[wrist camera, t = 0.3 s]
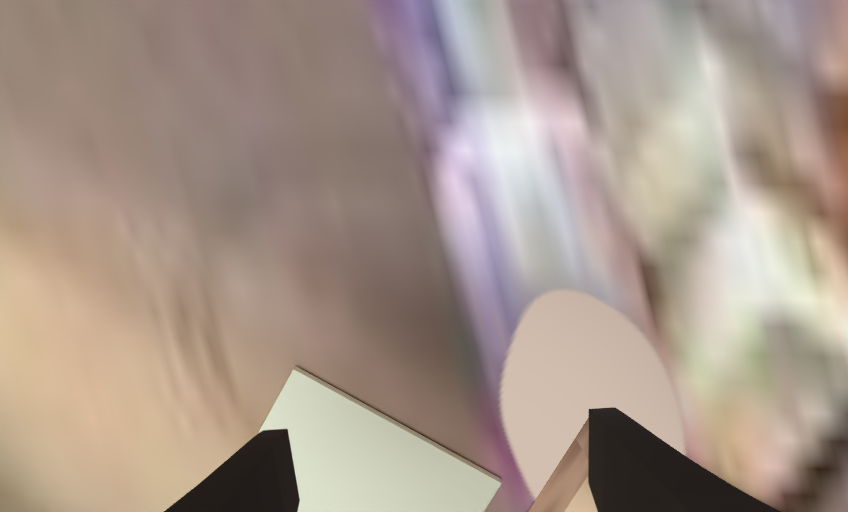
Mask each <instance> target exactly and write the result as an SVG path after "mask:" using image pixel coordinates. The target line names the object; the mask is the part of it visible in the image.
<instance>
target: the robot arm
mask: <svg viewBox="0 0 848 512" xmlns="http://www.w3.org/2000/svg"><path fill="white" fill-rule="evenodd" d="M588 484H589V487H590V490H591V493H592V496H593V499H594V502H595V505H596V508H597V511H598V512H780V511H778V510H776V509H774V508H772V507H771V506H769V505H767V504H765V503H763V502H761V501H759V500H757V499H755V498H753V497H752V496H750V495H748V494H746V493H744V492H743V491H741V490H739V489H737V488H736V487H734V486H732V485H731V484H729V483H727V482H726V481H724V480H722V479H721V478H719V477H717V476H716V475H714V474H712V473H711V472H709V471H708V470H706V469H704V468H703V467H701V466H700V465H698V464H697V463H695V462H693V461H692V460H690V459H689V458H687V457H686V456H684V455H683V454H681V453H680V452H678V451H677V450H675V449H674V448H673V447H671V446H670V445H668V444H667V443H665V442H664V441H662V440H661V439H659V438H658V437H657V436H655V435H654V434H652V433H651V432H650V431H648V430H647V429H645V428H644V427H643V426H641V425H640V424H638V423H637V422H635V421H634V420H633V419H631V418H630V417H628V416H627V415H626V414H624V413H623V412H621V411H619V410H618V409H616V408H601V409H589V450H588ZM299 502H300V498H299V493H298V487H297V481H296V475H295V469H294V463H293V457H292V452H291V446H290V440H289V434H288V429H274V430H262V431H261V432H260V433H258V434H257V435H256V436H255V437H253V438H252V439H251V440H250V441H249V442H247V443H246V444H245V445H244V446H243V447H242V448H240V449H239V450H238V451H237V452H236V453H235V454H234V455H232V456H231V457H230V458H229V459H228V460H227V461H225V462H224V463H223V464H222V465H221V466H220V467H218V468H217V469H216V470H215V471H214V472H213V473H211V474H210V475H209V476H208V477H207V478H206V479H204V480H203V481H202V482H201V483H200V484H198V485H197V486H196V487H195V488H193V489H192V490H191V491H190V492H188V493H187V494H186V495H185V496H183V497H182V498H181V499H180V500H178V501H177V502H176V503H174V504H173V505H172V506H171V507H169V508H168V509H167V510H166V511H164V512H297V511H298V507H299Z"/></svg>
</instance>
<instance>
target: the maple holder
mask: <svg viewBox="0 0 848 512" xmlns="http://www.w3.org/2000/svg"><path fill="white" fill-rule="evenodd" d="M588 450H589V418H588V420H587V421H586V423H585V424H584V426H583V427H582V429H581V430H580V432H579V434H578V435H577V437H576V438H575V440H574V441H573V443H572V444H571V446H570V447H569V449H568V451H567V452H566V454H565V455H564V457H563V459H562V460H561V461H560V463H559V465H558V466H557V468H556V469H555V471H554V472H553V474H552V475H551V477H550V479H549V480H548V482H547V483H546V485H545V486H544V488H543V490H542V491H541V493H540V494H539V496H538V497H537V499H536V500H535V502H534V503H533V505H532V506H531V508H530V510H529V511H528V512H598V511H597V508H596V505H595V502H594V499H593V496H592V493H591V490H590V487H589V484H588Z"/></svg>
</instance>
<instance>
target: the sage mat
mask: <svg viewBox="0 0 848 512" xmlns="http://www.w3.org/2000/svg"><path fill="white" fill-rule="evenodd" d="M274 429H288V434H289V440H290V446H291V452H292V457H293V463H294V469H295V475H296V481H297V487H298V493H299V498H300V502H299V507H298V511H297V512H484V510H485V509H486V507H487V506H488V504H489V503H490V501H491V499H492V498H493V496H494V495H495V493H496V491H497V490H498V488H499V487H500V485H501V484H502V483H501V479H500V478H499V477H497V476H495V475H493V474H491V473H490V472H488V471H486V470H484V469H482V468H481V467H479V466H477V465H475V464H473V463H471V462H470V461H468V460H466V459H464V458H462V457H461V456H459V455H457V454H455V453H453V452H451V451H450V450H448V449H446V448H444V447H442V446H440V445H439V444H437V443H435V442H433V441H431V440H430V439H428V438H426V437H424V436H422V435H420V434H419V433H417V432H415V431H413V430H411V429H409V428H408V427H406V426H404V425H402V424H400V423H399V422H397V421H395V420H393V419H391V418H389V417H388V416H386V415H384V414H382V413H380V412H379V411H377V410H375V409H373V408H371V407H369V406H368V405H366V404H364V403H362V402H360V401H358V400H357V399H355V398H353V397H351V396H349V395H348V394H346V393H344V392H342V391H340V390H338V389H337V388H335V387H333V386H331V385H329V384H328V383H326V382H324V381H322V380H320V379H318V378H317V377H315V376H313V375H311V374H309V373H307V372H306V371H304V370H302V369H300V368H298V367H297V366H296V367H295V368H294V369H293V371H292V373H291V375H290V377H289V378H288V380H287V382H286V384H285V386H284V387H283V389H282V391H281V393H280V395H279V397H278V398H277V400H276V402H275V404H274V406H273V407H272V409H271V411H270V413H269V415H268V416H267V418H266V420H265V422H264V424H263V425H262V427H261V429H260V431H259V433H260V432H261V431H262V430H274Z"/></svg>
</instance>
